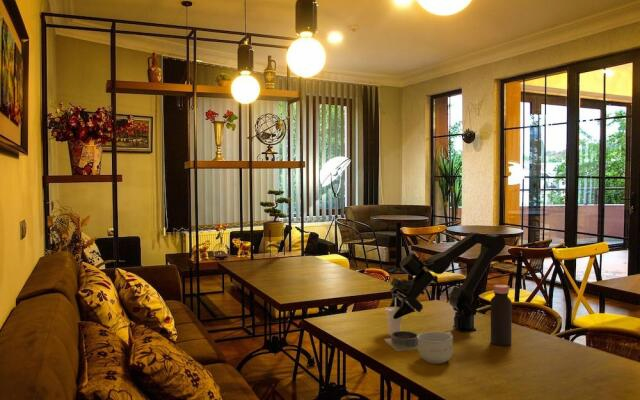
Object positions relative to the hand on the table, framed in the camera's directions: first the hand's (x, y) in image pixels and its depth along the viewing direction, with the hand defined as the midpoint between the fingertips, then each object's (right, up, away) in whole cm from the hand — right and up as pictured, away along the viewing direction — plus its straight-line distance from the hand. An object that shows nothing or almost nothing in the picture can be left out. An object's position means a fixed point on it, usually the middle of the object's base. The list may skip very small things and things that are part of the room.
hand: (390, 315), depth 182 cm
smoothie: (+1, -7, +1) cm, 7 cm away
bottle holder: (+4, -8, -10) cm, 13 cm away
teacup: (+12, -8, -25) cm, 28 cm away
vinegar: (+37, -7, -10) cm, 39 cm away
